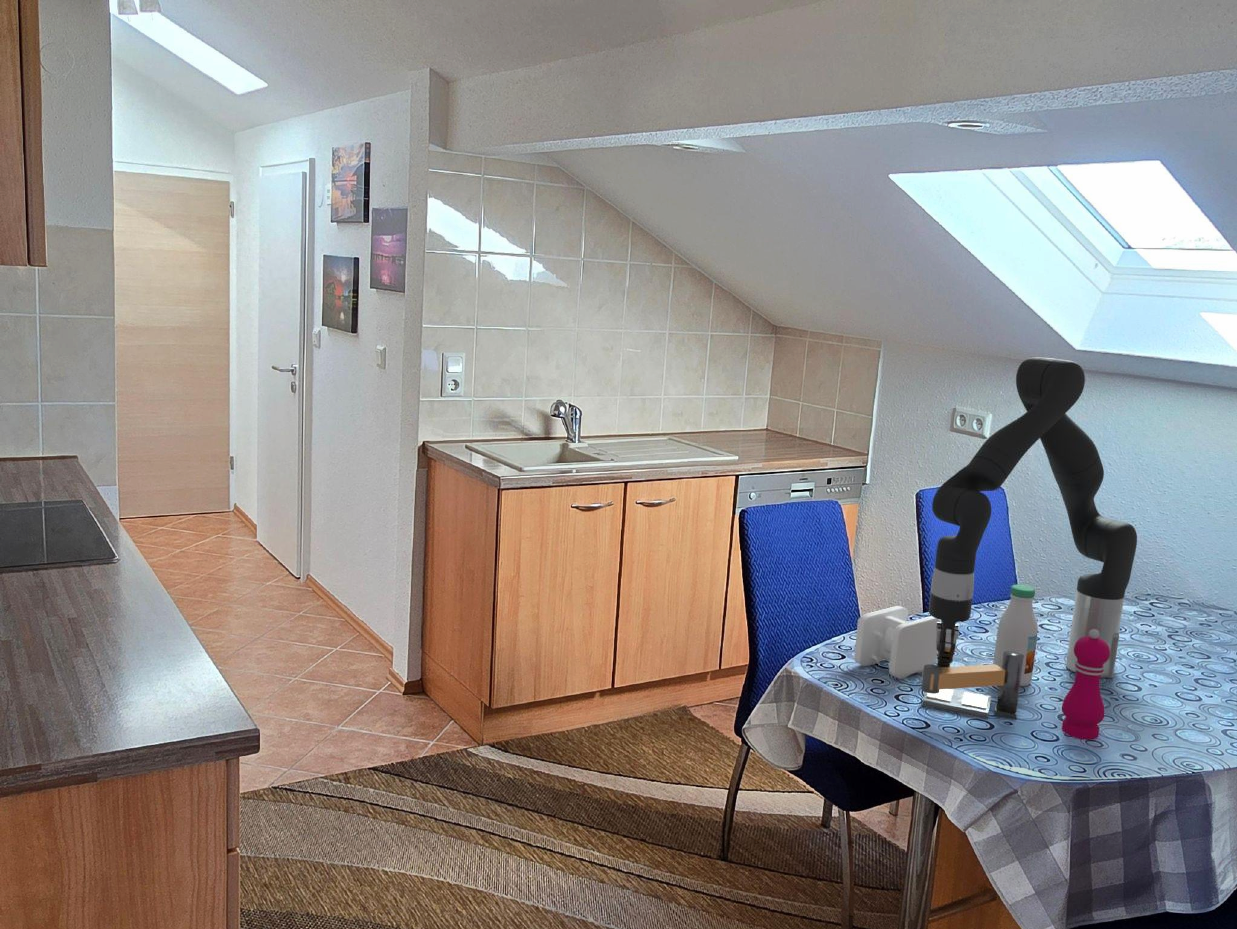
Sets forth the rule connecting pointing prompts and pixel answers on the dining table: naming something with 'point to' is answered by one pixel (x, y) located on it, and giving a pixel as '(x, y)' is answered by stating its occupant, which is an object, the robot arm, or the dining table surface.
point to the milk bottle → (1018, 630)
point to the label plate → (959, 702)
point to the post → (1009, 685)
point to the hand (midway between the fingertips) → (941, 679)
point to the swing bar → (961, 677)
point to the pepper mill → (1086, 689)
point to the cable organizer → (896, 641)
